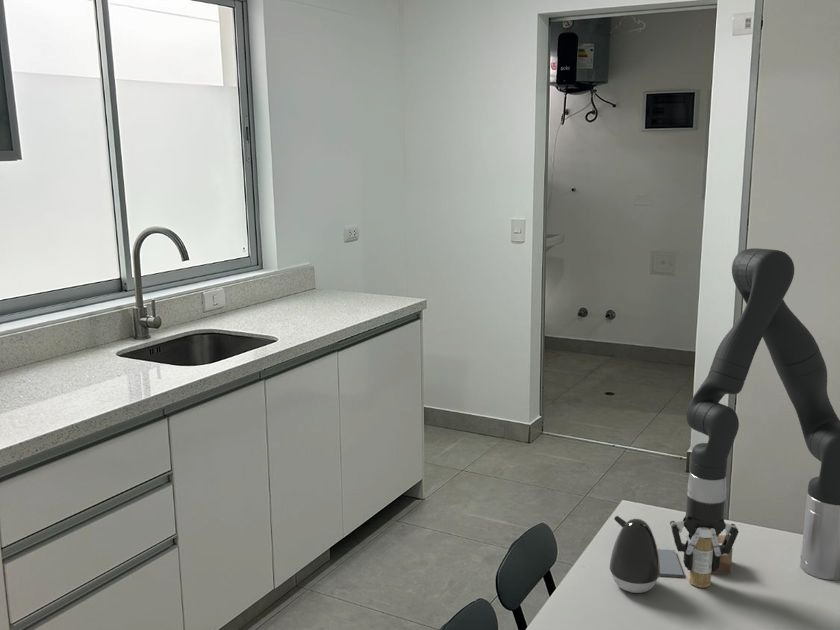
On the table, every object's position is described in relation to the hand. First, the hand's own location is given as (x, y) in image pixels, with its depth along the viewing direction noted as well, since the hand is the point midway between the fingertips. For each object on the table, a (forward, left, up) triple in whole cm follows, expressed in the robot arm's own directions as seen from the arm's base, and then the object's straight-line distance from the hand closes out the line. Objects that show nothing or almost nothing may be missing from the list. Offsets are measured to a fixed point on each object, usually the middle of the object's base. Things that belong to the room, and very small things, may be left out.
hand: (700, 568), depth 173 cm
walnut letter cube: (-4, -8, -3) cm, 10 cm away
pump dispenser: (+14, +3, -4) cm, 15 cm away
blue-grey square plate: (+9, -8, -3) cm, 12 cm away
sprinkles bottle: (0, 0, -3) cm, 3 cm away
